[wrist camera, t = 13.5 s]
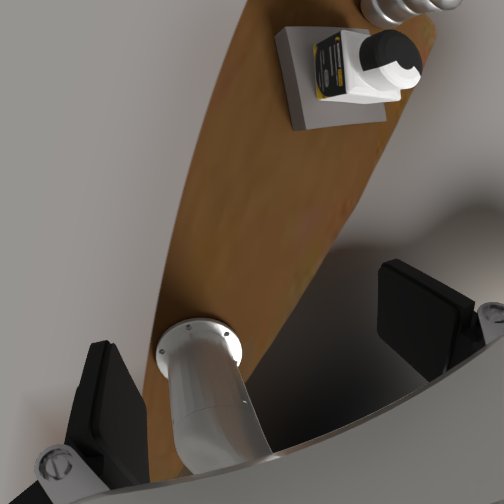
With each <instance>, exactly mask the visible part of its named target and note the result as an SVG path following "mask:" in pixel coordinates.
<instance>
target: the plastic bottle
mask: <svg viewBox="0 0 504 504" xmlns="http://www.w3.org/2000/svg"><path fill="white" fill-rule="evenodd" d="M461 3H462V0H361V4H360V7H361V11H362V13H363V15H364V17H365V18H366V19H367V20H368V21H369V22H370V23H371V24H373V25H374V26H376V27H379V28H382V29H388V28H394V27H397V26H398V25H400V24H402V23H403V22H404V21H406V20H408V19H410V18H412V17H414V16H416V15H421V14H425V13H429V12H436V11H448V10H454V9H456V8H457V7H458V6H460V4H461Z"/></svg>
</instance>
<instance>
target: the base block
mask: <svg viewBox="0 0 504 504" xmlns="http://www.w3.org/2000/svg"><path fill="white" fill-rule="evenodd" d="M341 30H347V31H352V32H357V33H361V34H366V35H370V33H369V30H366V29H355V28H341V27H313V26H293V27H284V28H283V29H282V30H281V31H280V32H279V33H277V34H276V35H275V36H274V38H275V43H276V47H277V52H278V56H279V61H280V66H281V70H282V75H283V80H284V85H285V90H286V95H287V100H288V106H289V111H290V116H291V122H292V127H293V131H295V130H307V129H315V128H322V127H330V126H339V125H347V124H357V123H368V122H379V121H386V114H385V107H384V102H380V103H371V104H359V103H348V102H336V101H322V100H318V99H317V93H316V77H315V64H314V51H313V46H314V45H316V44H317V43H319V42H321V41H323V40H325V39H326V38H328V37H330V36H332V35H334V34H336V33H338V32H339V31H341Z"/></svg>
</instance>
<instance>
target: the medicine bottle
mask: <svg viewBox="0 0 504 504" xmlns="http://www.w3.org/2000/svg"><path fill="white" fill-rule="evenodd" d="M313 51H314V64H315V77H316V93H317V99H318V100H322V101H336V102H348V103H359V104H371V103H380V102H389V101H399V100H400V99H401V95H400V89H407V88H412V87H413V86H415V85H416V84H417V83H418V82H419V80H420V77H421V74H422V60H421V56H420V54H419V51H418V49H417V48H416V46H415V45H414V43H413V42H412V41H411V40H410V39H409V38H408V37H407V36H405V35H404V34H402V33H401V32H399V31H396V30H385V31H382V32H379V33H377V34H374V35H372V36H370V35H366V34H361V33H357V32H352V31H347V30H341V31H339V32H338V33H336V34H334V35H332V36H330V37H328V38H326V39H325V40H323V41H321V42H319V43H317V44H316V45H314V46H313Z"/></svg>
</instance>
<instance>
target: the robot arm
mask: <svg viewBox="0 0 504 504" xmlns="http://www.w3.org/2000/svg"><path fill="white" fill-rule="evenodd" d="M474 306H475V302H474V301H473V300H471V299H469V298H468V297H466V296H464V295H463V294H461V293H459V292H457V291H455V290H454V289H452V288H450V287H448V286H447V285H445V284H443V283H441V282H439V281H437V280H436V279H434V278H432V277H430V276H429V275H426V274H425V273H423V272H421V271H419V270H418V269H416V268H414V267H412V266H410V265H408V264H406V263H404V262H402V261H400V260H399V259H393V260H390V261H387V262H384V263H383V264H382V265H381V268H380V269H379V271H378V317H377V332H378V334H379V336H380V338H381V339H382V340H384V341H385V342H386V343H387V344H388V345H389V346H390V347H391V348H392V349H393V350H395V351H396V352H397V353H398V354H399V355H400V356H401V357H402V358H403V359H404V360H405V361H407V362H408V363H409V364H410V365H411V366H412V367H413V368H414V369H415V370H416V371H417V372H419V373H420V374H421V375H422V376H423V377H424V378H425V379H426V380H427V381H428V382H429V383H428V384H426V385H424V386H423V387H421V388H419V389H417V390H416V391H414V392H412V393H410V394H408V395H407V396H405V397H403V398H401V399H399V400H397V401H396V402H394V403H392V404H390V405H388V406H386V407H384V408H382V409H380V410H378V411H376V412H374V413H372V414H370V415H368V416H366V417H364V418H362V419H360V420H357V421H355V422H353V423H351V424H349V425H347V426H344V427H342V428H340V429H337V430H335V431H332V432H330V433H328V434H325V435H323V436H320V437H318V438H316V439H313V440H311V441H307V442H305V443H302V444H299V445H297V446H294V447H291V448H288V449H286V450H282V451H280V452H277V453H274V454H273V453H272V451H271V449H270V447H269V446H268V443H267V441H266V439H265V436H264V434H263V432H262V429H261V427H260V424H259V422H258V419H257V416H256V414H255V411H254V409H253V406H252V404H251V401H250V398H249V396H248V393H247V391H246V388H245V385H244V383H243V380H242V377H241V375H240V372H239V369H238V366H239V364H240V361H241V358H242V348H241V344H240V341H239V339H238V337H237V335H236V333H235V332H234V331H233V330H232V329H231V328H230V327H229V326H227V325H226V324H224V323H222V322H220V321H218V320H214V319H211V318H191V319H187V320H183V321H181V322H178V323H176V324H175V325H173V326H171V327H170V328H169V329H168V330H167V331H165V332H164V333H163V335H162V336H161V338H160V339H159V342H158V344H157V348H156V361H157V365H158V367H159V369H160V371H161V373H162V374H163V375H164V376H165V377H166V378H167V379H168V382H169V394H170V404H171V414H172V423H173V432H174V441H175V447H176V450H177V453H178V455H179V457H180V459H181V460H182V462H183V463H184V465H185V466H186V467H187V468H188V469H189V470H190V471H191V472H192V473H193V474H195V475H191V476H186V477H181V478H176V479H171V480H165V481H159V482H150V477H149V463H148V443H147V410H146V405H145V403H144V400H143V398H142V397H141V395H140V393H139V391H138V389H137V387H136V385H135V383H134V381H133V380H132V378H131V376H130V374H129V372H128V369H127V367H126V365H125V363H124V361H123V359H122V357H121V355H120V353H119V351H118V349H117V347H116V345H115V344H114V343H112V344H110V342H109V341H108V340H105V341H100V342H96V343H92V344H91V345H90V348H89V351H88V355H87V358H86V362H85V365H84V369H83V373H82V377H81V380H80V384H79V386H78V388H77V390H76V393H75V397H74V401H73V405H72V410H71V414H70V419H69V423H68V428H67V433H66V437H65V442H64V444H57V445H53V446H50V447H48V448H46V449H45V450H44V451H43V452H42V453H40V455H39V456H38V458H37V459H36V462H35V466H34V467H35V469H34V470H35V474H36V477H37V479H38V480H37V481H36V482H35V483H34V484H32V485H31V486H30V487H29V488H27V489H26V490H25V491H24V492H22V493H21V494H20V495H19V496H17V497H16V498H15V499H14V500H13V501H11V502H10V503H9V504H504V304H501V303H498V302H488V303H484V304H482V305H481V306H480V307H479V308H478V311H477V313H476V312H475V311H474Z"/></svg>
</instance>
